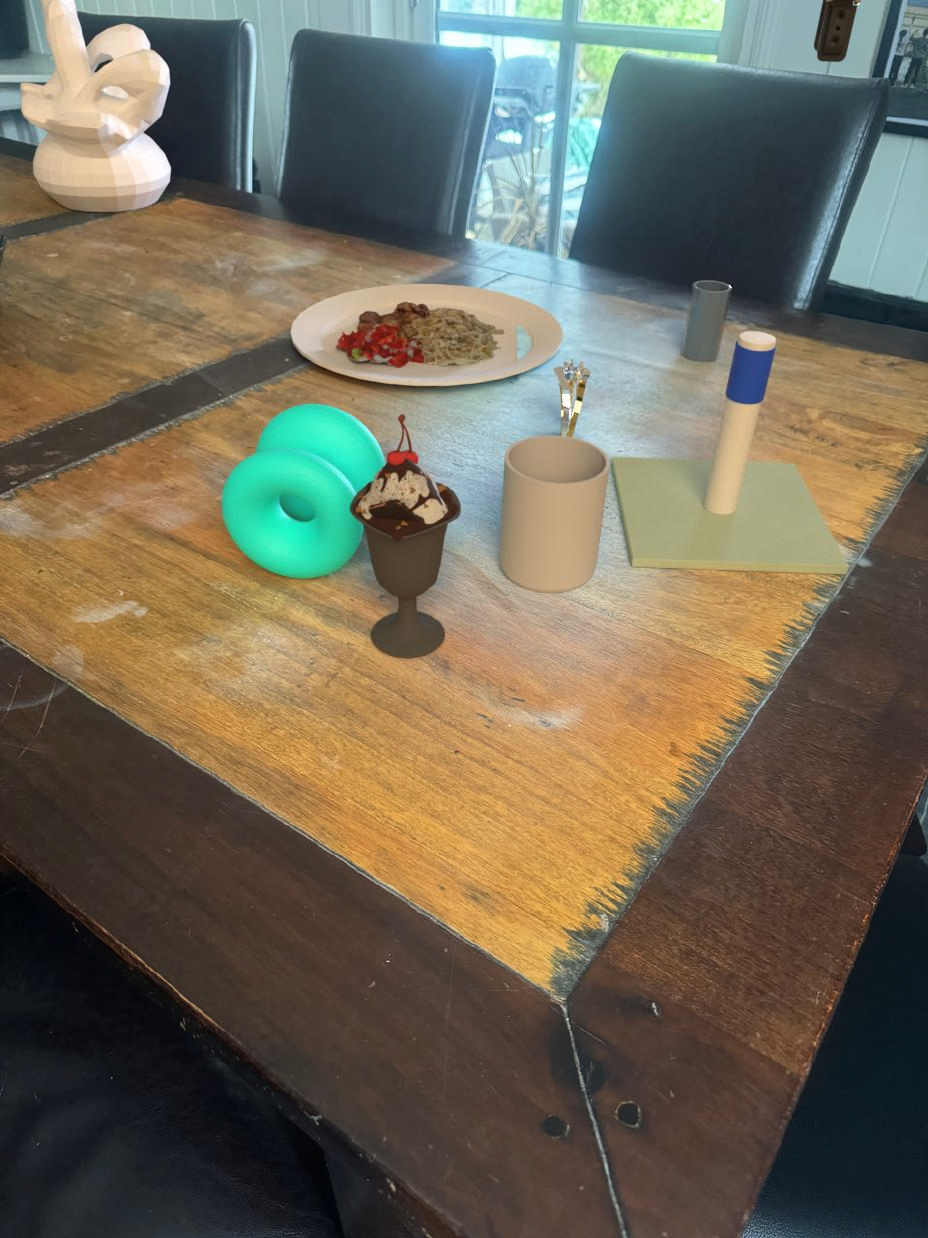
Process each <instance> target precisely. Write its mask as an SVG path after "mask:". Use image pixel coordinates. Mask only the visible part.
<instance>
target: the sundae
mask: <svg viewBox="0 0 928 1238" xmlns="http://www.w3.org/2000/svg"><path fill="white" fill-rule="evenodd" d="M406 418H407V417H406V415H405V414H404V413H401V414H400V415H399V416H397V420H398V421H399V423H400V428H401V438H400V441H399V444H398V446H397V449H396V450H391V451H389V452H388V453H387V454H386V463H385V466H383V467H382V468H381V469H380V470H379V471H378V472H377V473H376V475H375V477H374V479H373V481H371V482H369V483H368V484H367V485H366V486H365V487H363V488H362V489H361V490H360V491H359V492H358V493H357V494H356V495H355V497H354V498H353V500H352V502H351V504H350V509H349V510H350V512H351V514H352V515H353V516H354V518H356V519H357V520H358V521H360V522H361V523H362V524H363V532H364V534H365V538H366V541H367V547H368V552H369V558H370V562H371V566H372V570H373V573H374V576H375V579H376V581H377V583H378V585H379V586H380V587H381V588H382V589H384V590H385V591H387V592H388V593H389V595H390V594H391V595H392V596H394V597H397V603H398V608H397V611H396V612H393V613H390V614H387V615H386V616H383V617H381V618H380V619H379V620H378V621H377V622H376V623H374V625H373V626H372V629H371V632H370V638H371V641H372V644H373V645H374V646H375V647H376V648H377V649H378V650H379V651H380V652H382V653H383V654H386V655H387V656H391V657H394V658H401V659H414V658H420V657H424V656H427V655H429V654H431V653H432V652H435V651H436V650H438V648H439V647H440V646H441V645H442V644H443V642H444V641H445V637H446V631H445V628H444V626H443V624H442V623H441V622H440V621H439V620H438V619H436V618H435V617H434V616H432V615H431V614H428V613H425V612H423V611H418V608H417V607H418V606H417V598H418V597H419V596H421V595H423V594H425V593H426V592H427V591H429V590H430V589H431V588H432V587H433V586H434V585H436V583H437V580H438V576H439V573H440V568H441V563H442V559H443V550H444V543H445V537H446V532H447V529H448V526H449V524H450V523H452V522H454V521H456V520H458V519H459V517H460V516H461V512H462V506H461V505H462V504H461V502H460V499H459V497H458V495H457V494H456V492H455V491H454V490H453V489H451V488H450V487H449V486H448V485H445V484H443V483H441V482H437V481H435V480H434V478H433V476H432V475H431V474H430V473H429V472H428V471H427V470H426V469H425V468H424V467H422V466H420V465H418V463H419V460H420V458H419V455H418V454H417V452H415V451H414V450H413V446H412V441H411V437H410V434H409V433H410V432H409V431H408V428H407V427H406V425H405V424H404V421H405V420H406ZM405 435H406V439H407V445H408V449H405V450H403V451H401V447H402V445H403V442H404V438H405Z"/></svg>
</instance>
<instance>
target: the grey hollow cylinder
mask: <svg viewBox="0 0 928 1238" xmlns="http://www.w3.org/2000/svg"><path fill="white" fill-rule="evenodd" d="M732 290H733V288H732V287H731V285H730V284H728V283H727V282H723V281H719V280H710V279H709V280H706V279H703V280H698V281H695V282H693V283H692V286H691V292H690V298H689V303H688V310H687V316H686V322H685V327H684V332H683V339H682V345H681V351H680V353H681V356H682V357H683V358H684V359H687V360H689V361H693V362H696V363H697V362H698V363H710V362H714V361H716V360H717V359H718V358H719V355H720V351H721V345H722V340H723V335H724V329H725V324H726V321H727V315H728V309H729V304H730V300H731V295H732Z"/></svg>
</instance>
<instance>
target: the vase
mask: <svg viewBox="0 0 928 1238" xmlns="http://www.w3.org/2000/svg"><path fill="white" fill-rule="evenodd" d="M39 1H40V4H41V9H42V14H43V20H44V26H45V36H46V37H45V38H46V40H47V43H48V46H49V50H50V52H51V56H52V59H53V64H54V66H55V68H54V70H53V72H52V74H51V76H50V78H49V79H48V80H47V82H46V83H45V84H44V85H42V84H37V83H32V82H27V81H25V82H21V83H20V87H19V89H20V92H21V96H22V97H21V108H20V111H21V114H22V116H23V118H25V120H27V121H28V122H29V123H30V124H31V125H33V126H35V127H37V128H40V129H41V130H44V131H45V132H46V133H47V134H46V135H44V137H43V139H42V140H41V141H40V143H39V144H38V146H37V147H36V150H35V153H34V157H33V160H32V174H33V176H34V178H35V179H36V181H37V183H38V185H39V186H40V188H41V189H42V190H43V191H44V192H45V193H46V194H47V195H49V196H50V197H51V198H52V199H53V200H55V201H56V202H57V203H58V204H59V205H60V206H62V207H64V208H66V209H69V210H73V211H79V212H90V213H91V212H92V213H117V212H127V211H135V210H139V209H143V208H147V207H149V206H151V205H153V204H155V203H157V202H158V201H159V199H160V198H161V196H162V195H163V193H164V191H165V190H166V188H167V187H168V186H169V184H170V183H171V175H172V174H171V173H172V166H171V164H170V161H169V160H168V157H167V156H166V153H165V152H164V151H163V150H162V149H161V147H160V146H159V144H157V143H156V142H155V140H154V139H153V138H151V137H150V136H149V135H148V134H146V133H145V131H146V130H148V128H150V127H151V126H153V124H155V123H156V122H157V120H159V119H160V118H161V117H162V115H163V111H164V108H165V104H166V101H167V97H168V95H169V94H168V93H169V91H170V86H171V75H170V68H169V66H168V64H167V62H166V61H165V60H164V58H162V56H161V55H160V54H159V53H157V52H156V51H155V50H153V49H151V43H150V40H149V38H148V37H147V34H146V33H145V31H144V30H143V29H141V28H140V27H138V26H136V25H134V24H130V23H121V24H117V25H114V26H111V27H108V28H106V29H105V30H102V31H101V32H99V33H98V34H97V35H95V36H94V37H93V39H92V40H91V41H89V43H88V45H86V42H85V39H84V35H83V30H82V29H83V28H82V25H81V22H80V19H79V17H78V10H77V6H76V1H75V0H39ZM107 61H110V62H108V63H106V64H105V65H103V66H102V67H101V68H99V70H97V68H98V66H99V64H102V63H104V62H107ZM96 70H97V71H96ZM95 71H96V72H95Z"/></svg>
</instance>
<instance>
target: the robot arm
mask: <svg viewBox="0 0 928 1238" xmlns="http://www.w3.org/2000/svg"><path fill="white" fill-rule="evenodd" d="M861 2H862V1H861V0H822V3H821V7H820V12H819V18H818V21H817V27H816V32H815V37H814V41H813V48H814V50H815V51H816V58H817V60H818V61H820V62H829V63H840V62H843V61H844V60H845V58H846V57H847V53H848V50H849V45H850V40H851V36H852V31H853V27H854V23H855V18H856V14H857V9H858V5H860V4H861Z"/></svg>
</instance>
